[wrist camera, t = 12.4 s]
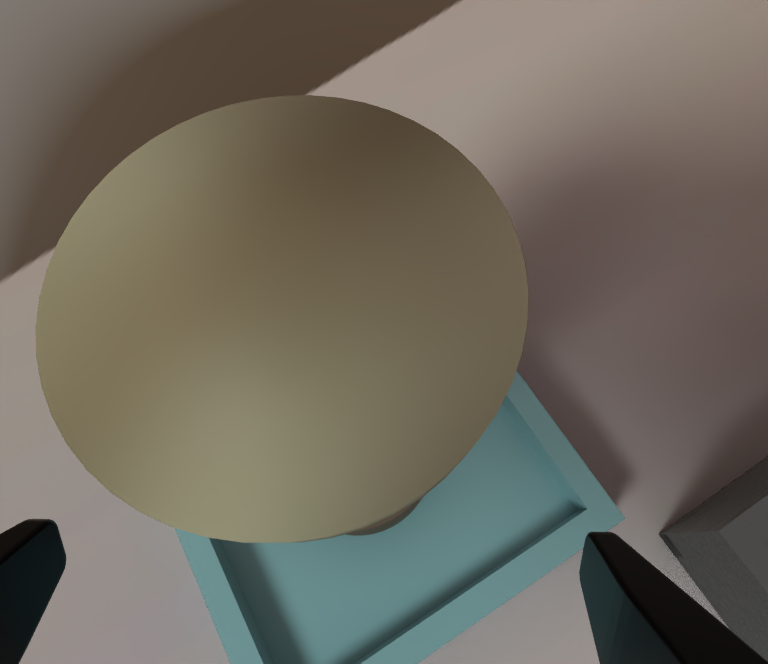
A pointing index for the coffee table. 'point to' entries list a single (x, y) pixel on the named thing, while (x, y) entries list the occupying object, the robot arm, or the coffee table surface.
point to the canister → (282, 320)
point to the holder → (730, 554)
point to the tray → (412, 556)
